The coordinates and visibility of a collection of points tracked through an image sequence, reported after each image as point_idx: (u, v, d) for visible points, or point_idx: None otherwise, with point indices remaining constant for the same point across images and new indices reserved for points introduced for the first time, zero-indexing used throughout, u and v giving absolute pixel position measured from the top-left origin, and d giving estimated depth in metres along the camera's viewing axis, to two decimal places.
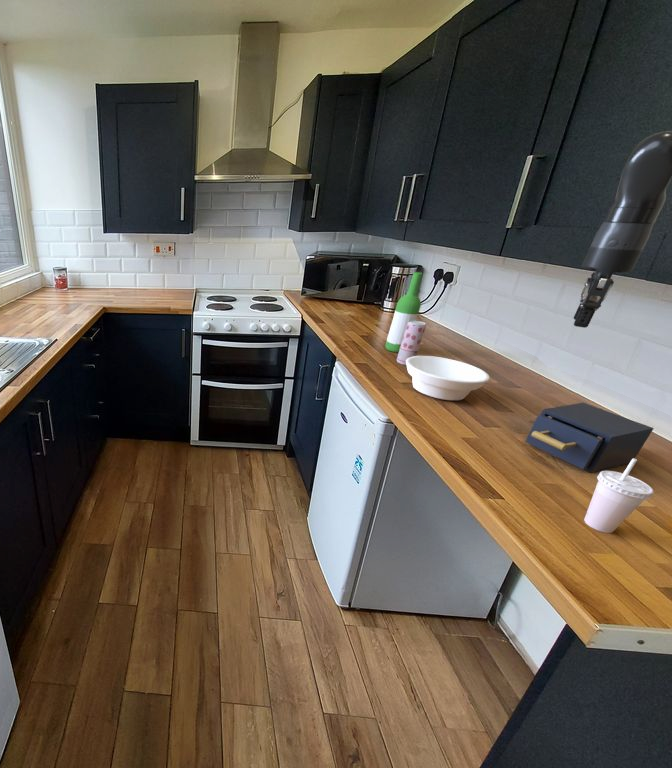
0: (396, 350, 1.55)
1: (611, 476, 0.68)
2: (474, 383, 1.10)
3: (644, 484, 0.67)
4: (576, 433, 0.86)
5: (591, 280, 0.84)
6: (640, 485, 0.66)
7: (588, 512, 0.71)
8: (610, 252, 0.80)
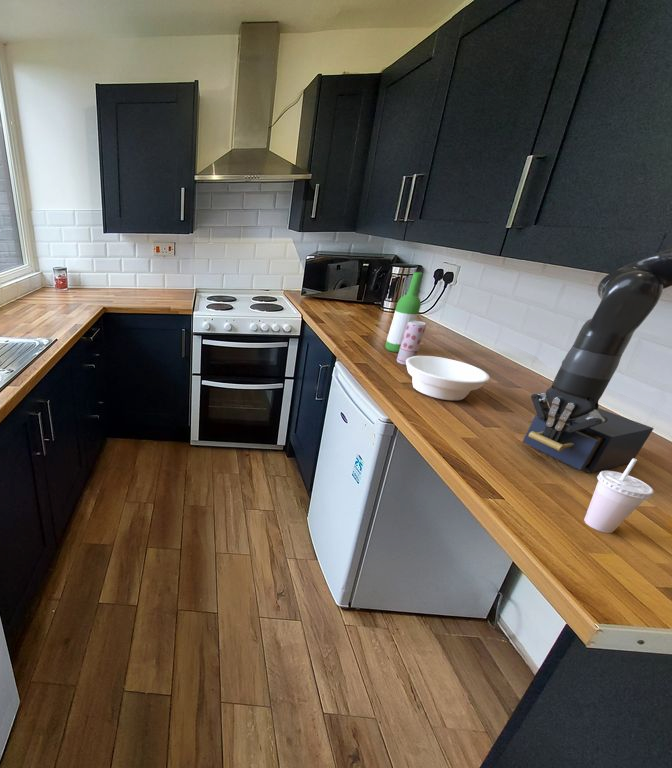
0: (396, 350, 1.55)
1: (611, 476, 0.68)
2: (474, 383, 1.10)
3: (644, 484, 0.67)
4: (573, 434, 0.86)
5: (576, 404, 0.82)
6: (640, 485, 0.66)
7: (588, 512, 0.71)
8: (604, 382, 0.78)
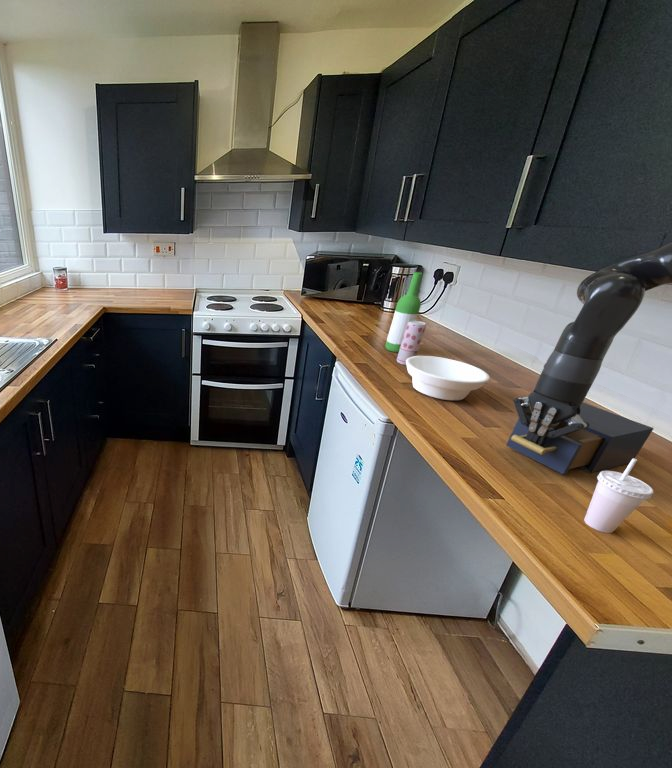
0: (396, 350, 1.55)
1: (611, 476, 0.68)
2: (474, 383, 1.10)
3: (644, 484, 0.67)
4: (556, 437, 0.84)
5: (558, 409, 0.80)
6: (640, 485, 0.66)
7: (588, 512, 0.71)
8: (585, 387, 0.77)
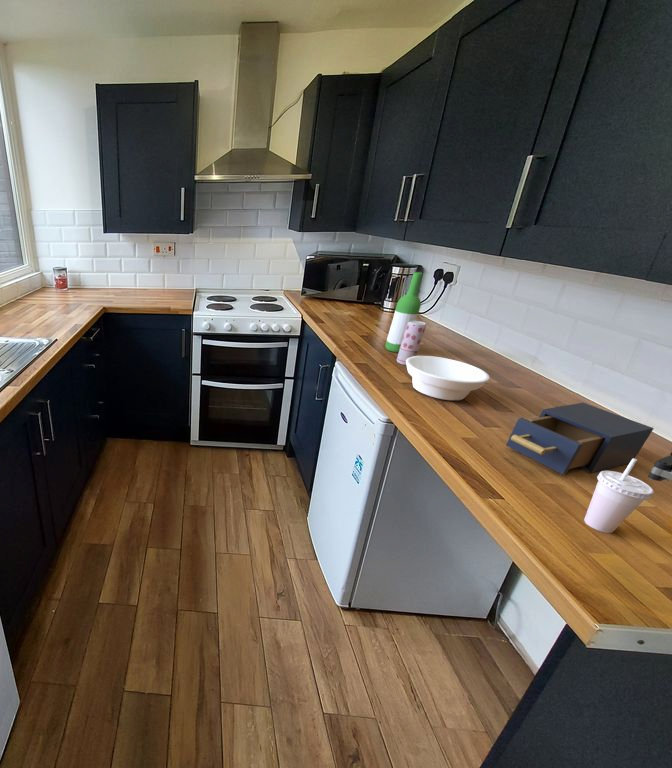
0: (396, 350, 1.55)
1: (611, 476, 0.68)
2: (474, 383, 1.10)
3: (644, 484, 0.67)
4: (556, 437, 0.84)
5: None
6: (640, 485, 0.66)
7: (588, 512, 0.71)
8: None
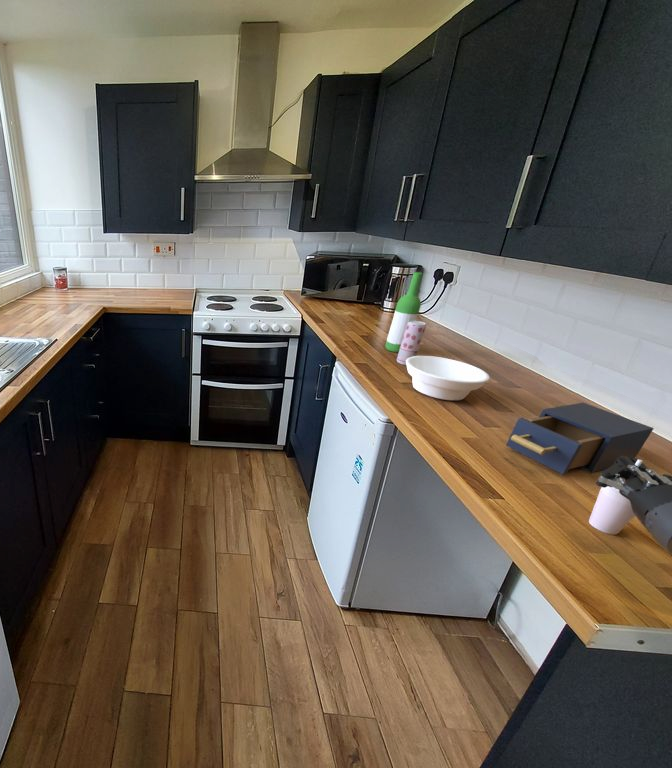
0: (396, 350, 1.55)
1: None
2: (474, 383, 1.10)
3: None
4: (556, 437, 0.84)
5: None
6: None
7: (593, 513, 0.71)
8: None
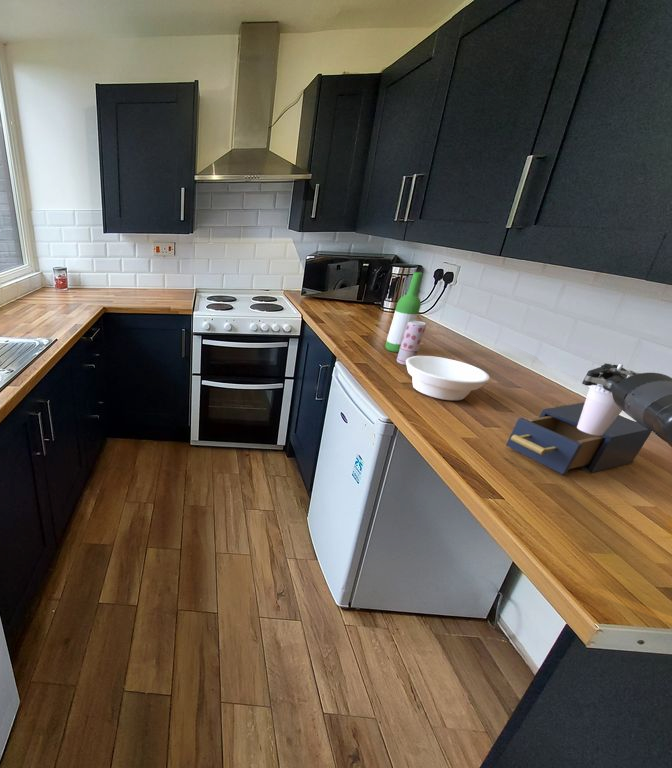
0: (396, 350, 1.55)
1: None
2: (474, 383, 1.10)
3: None
4: (556, 437, 0.84)
5: None
6: None
7: (580, 418, 0.79)
8: None
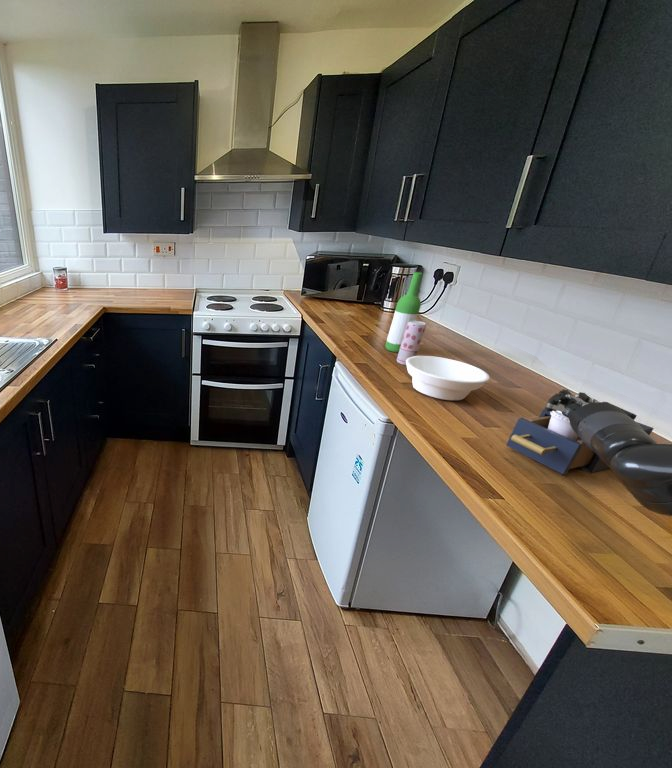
0: (396, 350, 1.55)
1: None
2: (474, 383, 1.10)
3: None
4: (556, 437, 0.84)
5: None
6: None
7: None
8: None
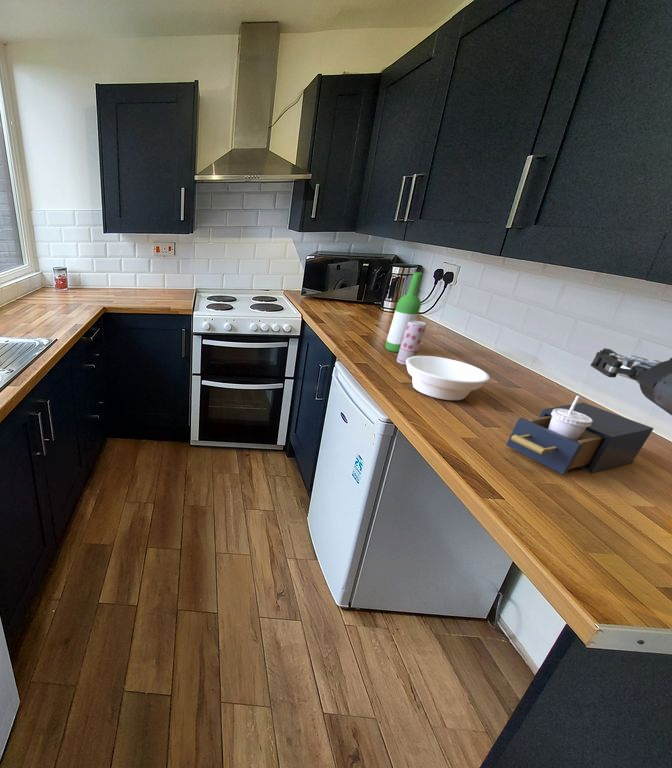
0: (396, 350, 1.55)
1: (561, 411, 0.86)
2: (474, 383, 1.10)
3: (587, 417, 0.85)
4: (556, 437, 0.84)
5: None
6: (583, 417, 0.84)
7: None
8: None
